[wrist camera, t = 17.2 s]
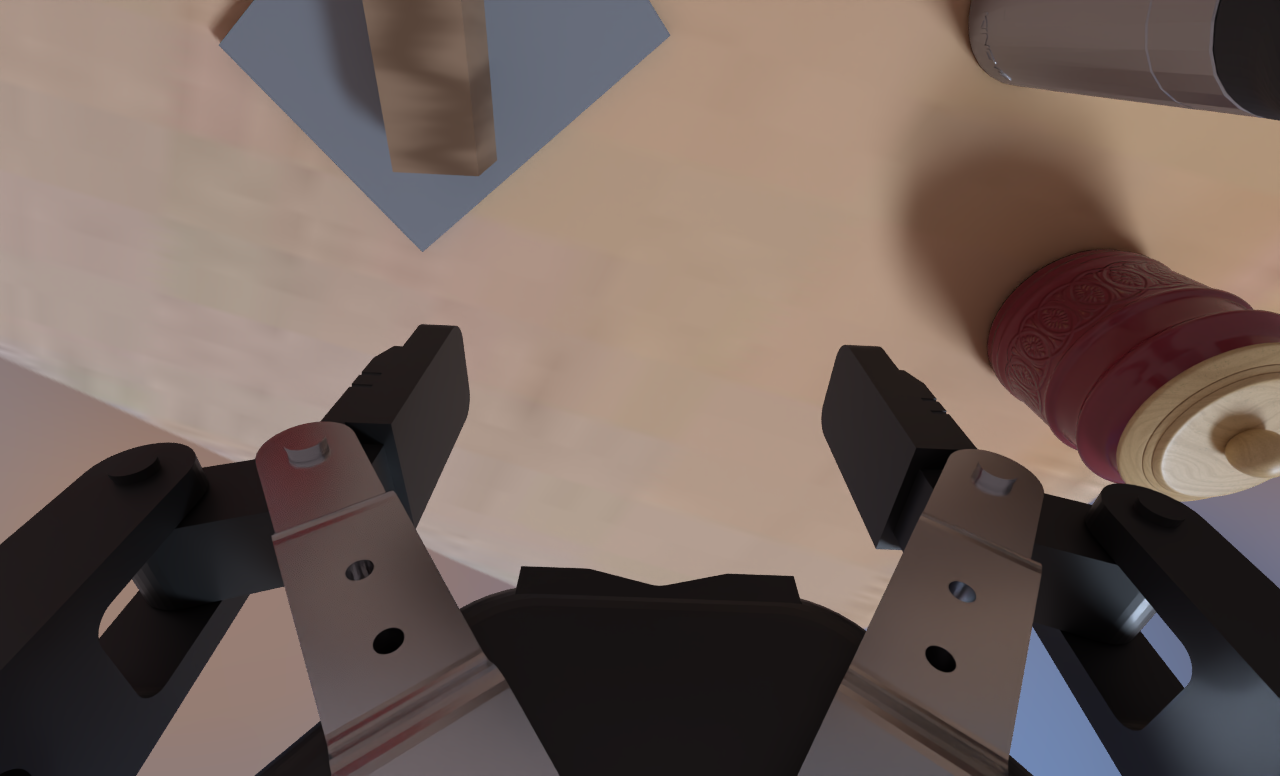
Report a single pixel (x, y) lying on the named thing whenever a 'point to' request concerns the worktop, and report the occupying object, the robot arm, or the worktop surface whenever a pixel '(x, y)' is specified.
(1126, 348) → the canister
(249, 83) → the worktop surface
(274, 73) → the grey mat
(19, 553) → the robot arm
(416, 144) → the walnut block
